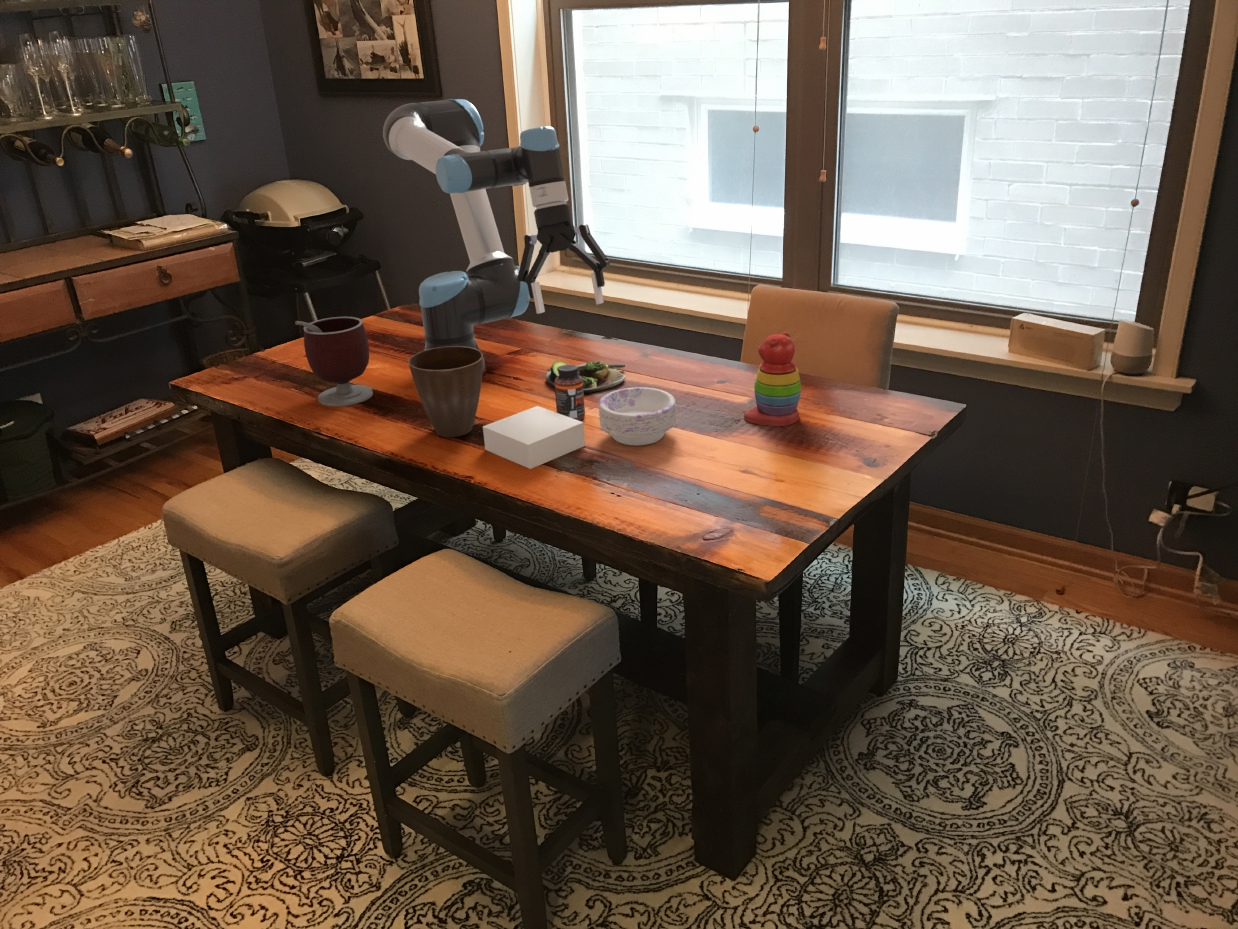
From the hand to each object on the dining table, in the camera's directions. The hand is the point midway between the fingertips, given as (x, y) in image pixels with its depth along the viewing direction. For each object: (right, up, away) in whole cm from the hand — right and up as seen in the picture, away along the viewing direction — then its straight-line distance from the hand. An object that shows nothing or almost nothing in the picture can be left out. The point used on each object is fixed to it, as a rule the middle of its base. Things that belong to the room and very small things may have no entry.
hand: (570, 308), depth 208 cm
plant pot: (-24, -26, -3) cm, 35 cm away
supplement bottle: (0, -23, 0) cm, 23 cm away
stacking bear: (+43, -24, -5) cm, 49 cm away
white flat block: (-6, -30, -13) cm, 33 cm away
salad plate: (+2, -14, +21) cm, 25 cm away
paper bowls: (+14, -28, -10) cm, 33 cm away
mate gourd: (-53, -18, +19) cm, 59 cm away
